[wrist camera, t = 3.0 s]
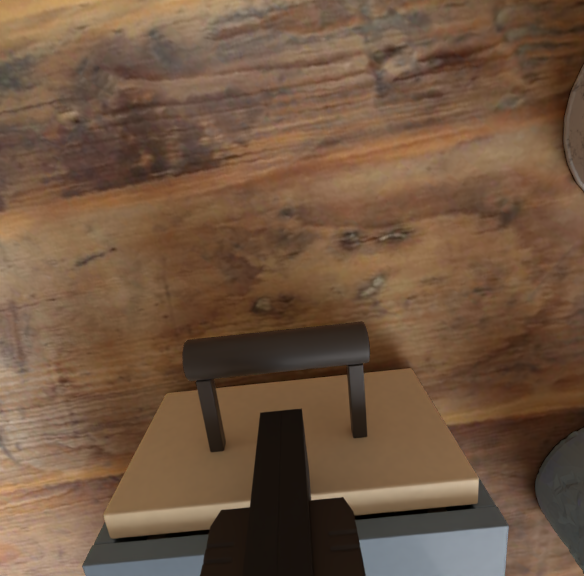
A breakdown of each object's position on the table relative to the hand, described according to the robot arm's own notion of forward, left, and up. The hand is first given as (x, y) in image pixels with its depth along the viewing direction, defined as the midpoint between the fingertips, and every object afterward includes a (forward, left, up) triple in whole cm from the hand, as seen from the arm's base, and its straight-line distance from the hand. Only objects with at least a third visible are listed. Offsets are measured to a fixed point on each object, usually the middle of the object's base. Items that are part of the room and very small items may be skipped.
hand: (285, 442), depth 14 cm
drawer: (+7, 0, -7) cm, 10 cm away
